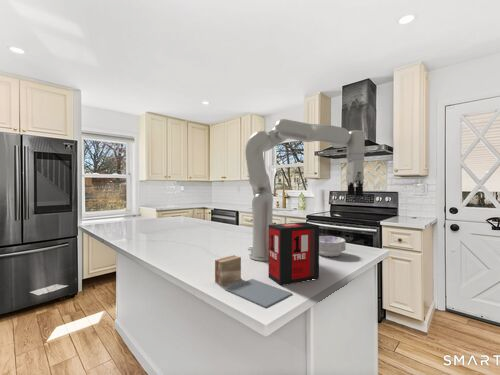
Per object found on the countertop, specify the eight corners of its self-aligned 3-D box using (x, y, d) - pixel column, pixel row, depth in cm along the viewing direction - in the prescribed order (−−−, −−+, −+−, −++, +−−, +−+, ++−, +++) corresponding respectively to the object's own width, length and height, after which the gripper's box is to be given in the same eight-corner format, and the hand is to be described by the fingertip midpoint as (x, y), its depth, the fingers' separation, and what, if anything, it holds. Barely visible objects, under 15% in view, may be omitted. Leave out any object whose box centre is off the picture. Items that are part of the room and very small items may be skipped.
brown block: (215, 282, 95) (215, 260, 95) (233, 275, 101) (233, 255, 101) (222, 285, 92) (222, 262, 92) (240, 278, 98) (240, 257, 98)
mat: (225, 289, 88) (225, 288, 88) (252, 279, 97) (252, 278, 97) (265, 308, 75) (265, 306, 75) (292, 294, 84) (292, 293, 84)
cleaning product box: (304, 271, 106) (305, 222, 106) (318, 279, 98) (319, 225, 98) (268, 277, 100) (268, 224, 99) (280, 285, 92) (280, 228, 91)
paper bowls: (313, 257, 127) (313, 241, 127) (313, 249, 141) (313, 235, 141) (347, 259, 123) (347, 242, 123) (343, 251, 138) (343, 236, 138)
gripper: (341, 159, 130) (340, 194, 130) (354, 156, 112) (353, 196, 113) (356, 159, 129) (356, 194, 130) (371, 156, 112) (371, 196, 112)
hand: (354, 195), depth 121 cm, fingers open, 9 cm apart
